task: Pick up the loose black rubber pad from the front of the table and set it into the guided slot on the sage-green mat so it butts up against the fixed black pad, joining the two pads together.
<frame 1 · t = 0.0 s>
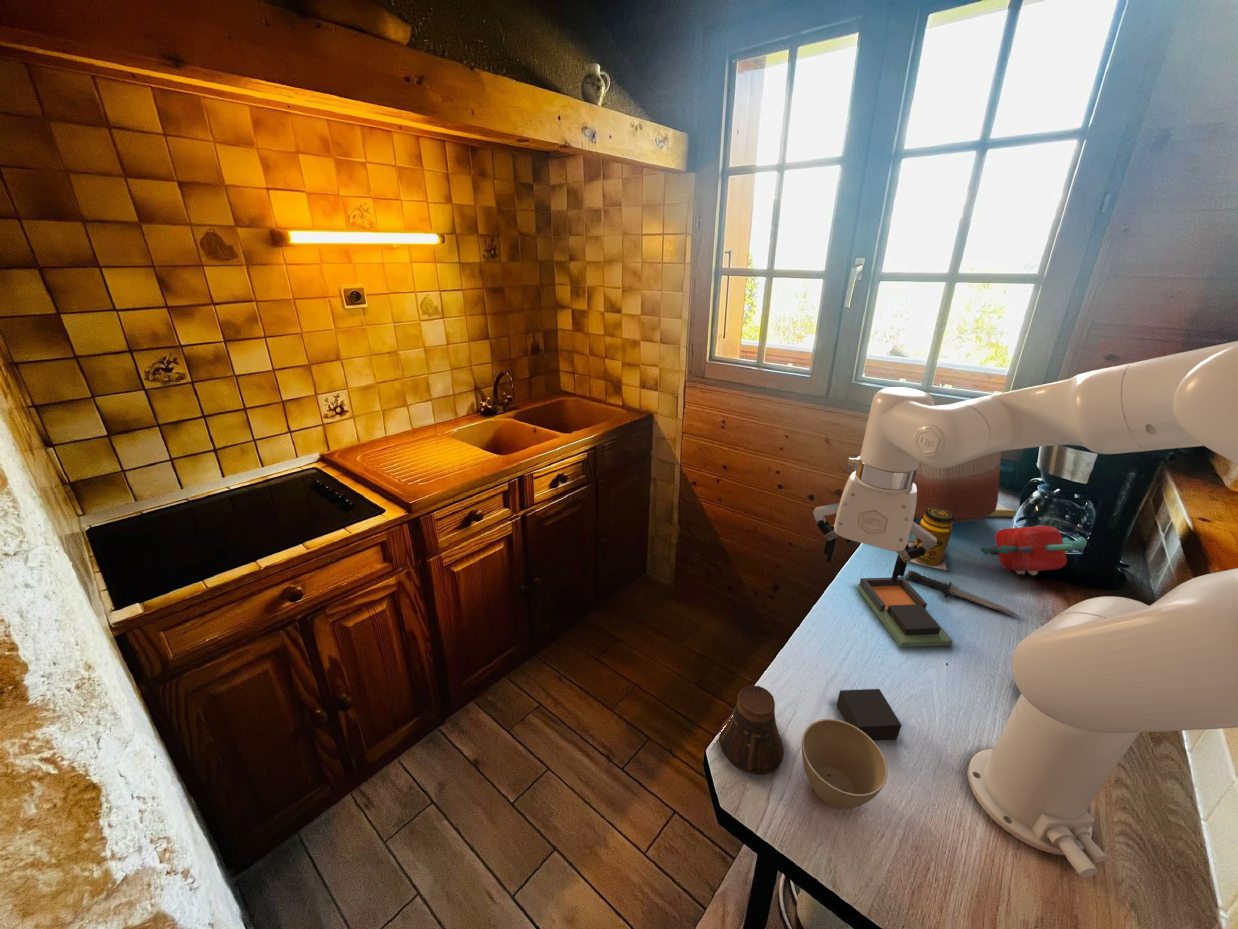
hand: (861, 567, 79), 18 cm above the table, tool pointing down, fingers open, 9 cm apart
dock: (900, 614, 94), on the table
knife: (958, 597, 99), on the table
beige bowl: (833, 790, 65), on the table
pillar candle: (1058, 708, 76), on the table
toy: (1078, 547, 105), point 5 cm above the table
loose pad: (865, 721, 74), on the table
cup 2: (766, 702, 66), point 10 cm above the table
condiment: (926, 557, 111), on the table
sign holder: (975, 513, 126), point 1 cm above the table, touching planter
planter: (934, 507, 127), point 2 cm above the table, touching sign holder
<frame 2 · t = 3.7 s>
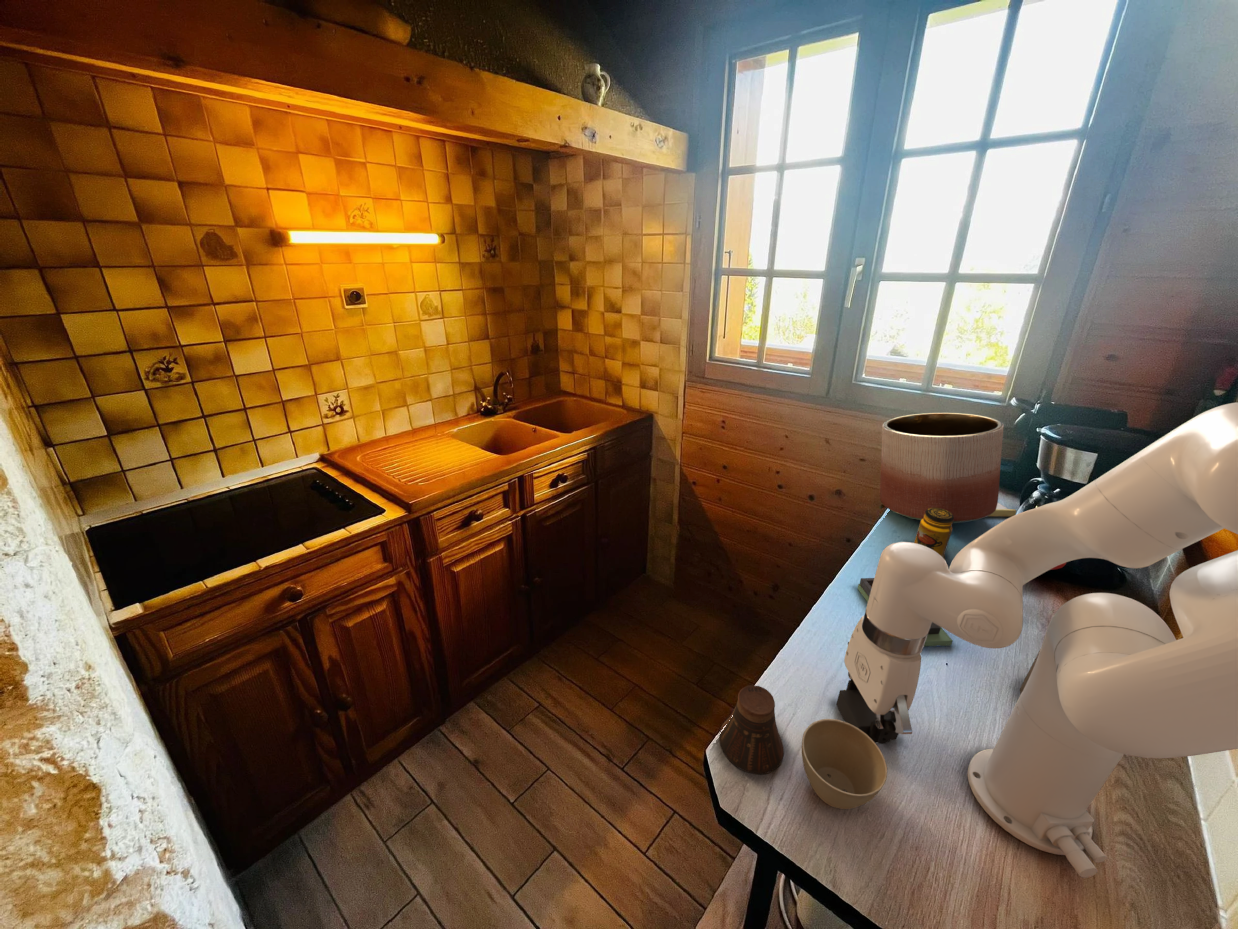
hand: (865, 718, 73), 1 cm above the table, tool pointing down, fingers closed on loose pad, 6 cm apart
loose pad: (865, 721, 74), on the table, touching gripper
planter: (935, 507, 127), point 2 cm above the table, touching sign holder
everything else where it was.
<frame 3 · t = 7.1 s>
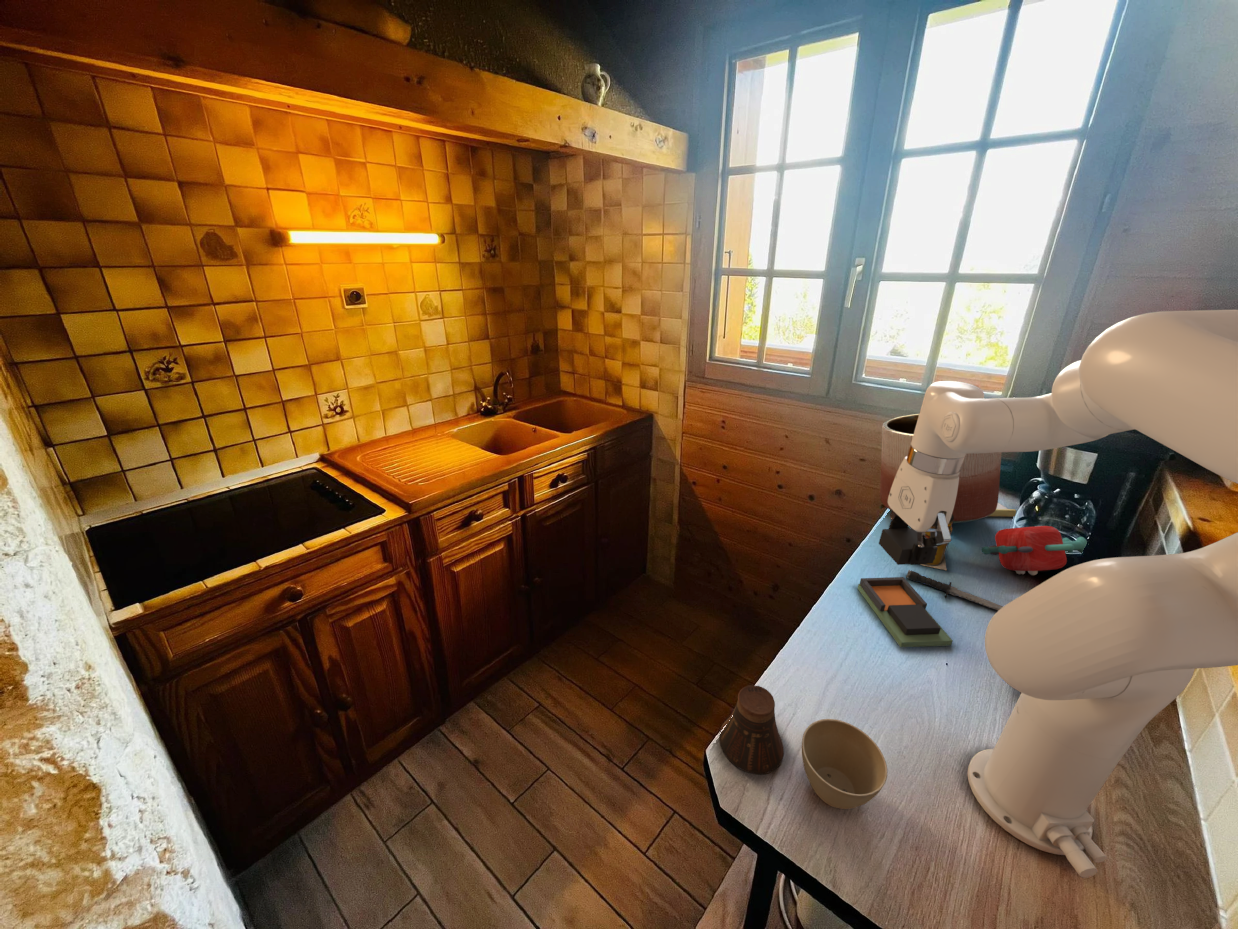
hand: (906, 550, 86), 16 cm above the table, tool pointing down, fingers closed on loose pad, 6 cm apart
loose pad: (904, 553, 86), point 15 cm above the table, touching gripper
everything else where it was.
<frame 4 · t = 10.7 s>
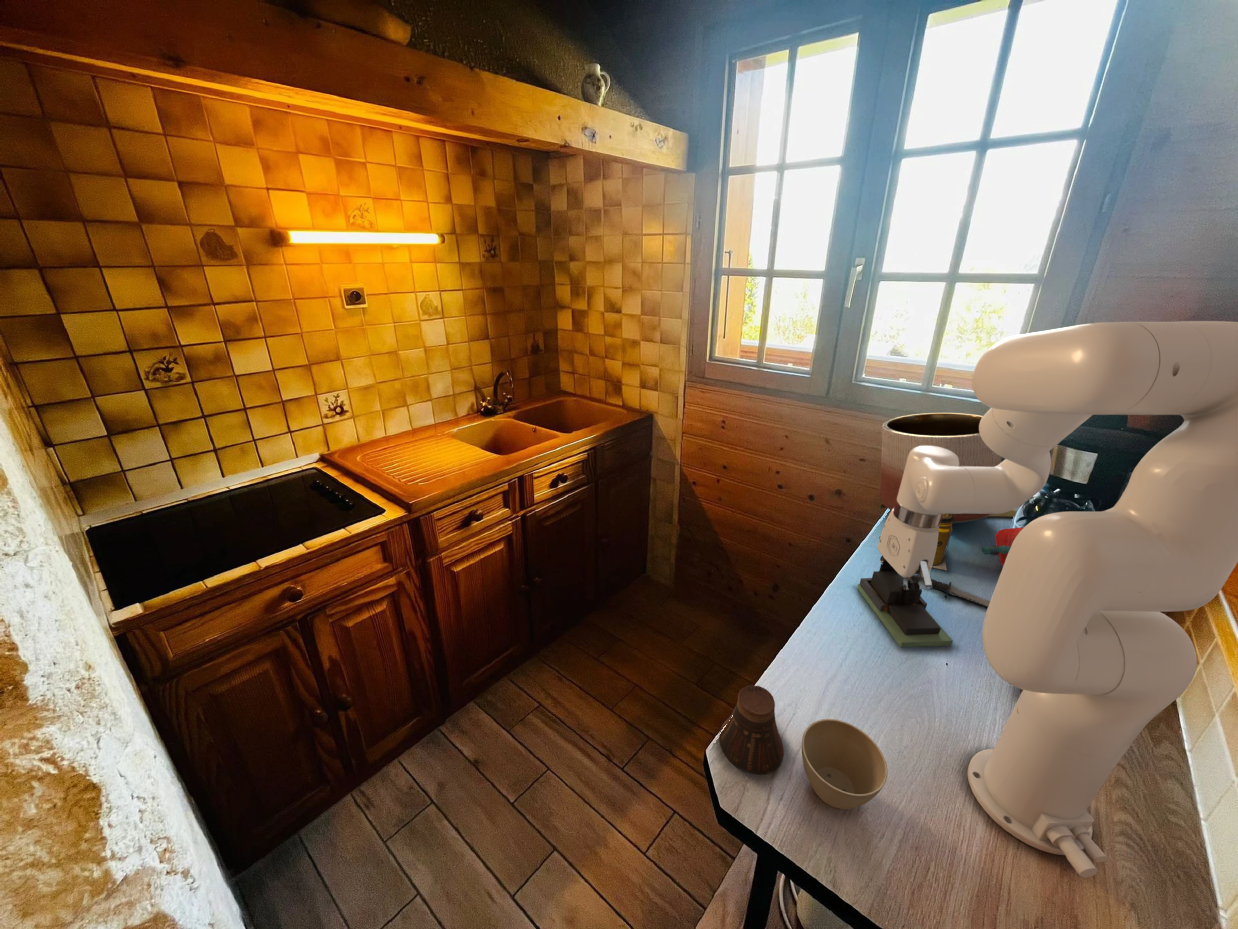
hand: (894, 591, 96), 3 cm above the table, tool pointing down, fingers closed on loose pad, 6 cm apart
loose pad: (893, 593, 96), point 2 cm above the table, touching gripper
everything else where it was.
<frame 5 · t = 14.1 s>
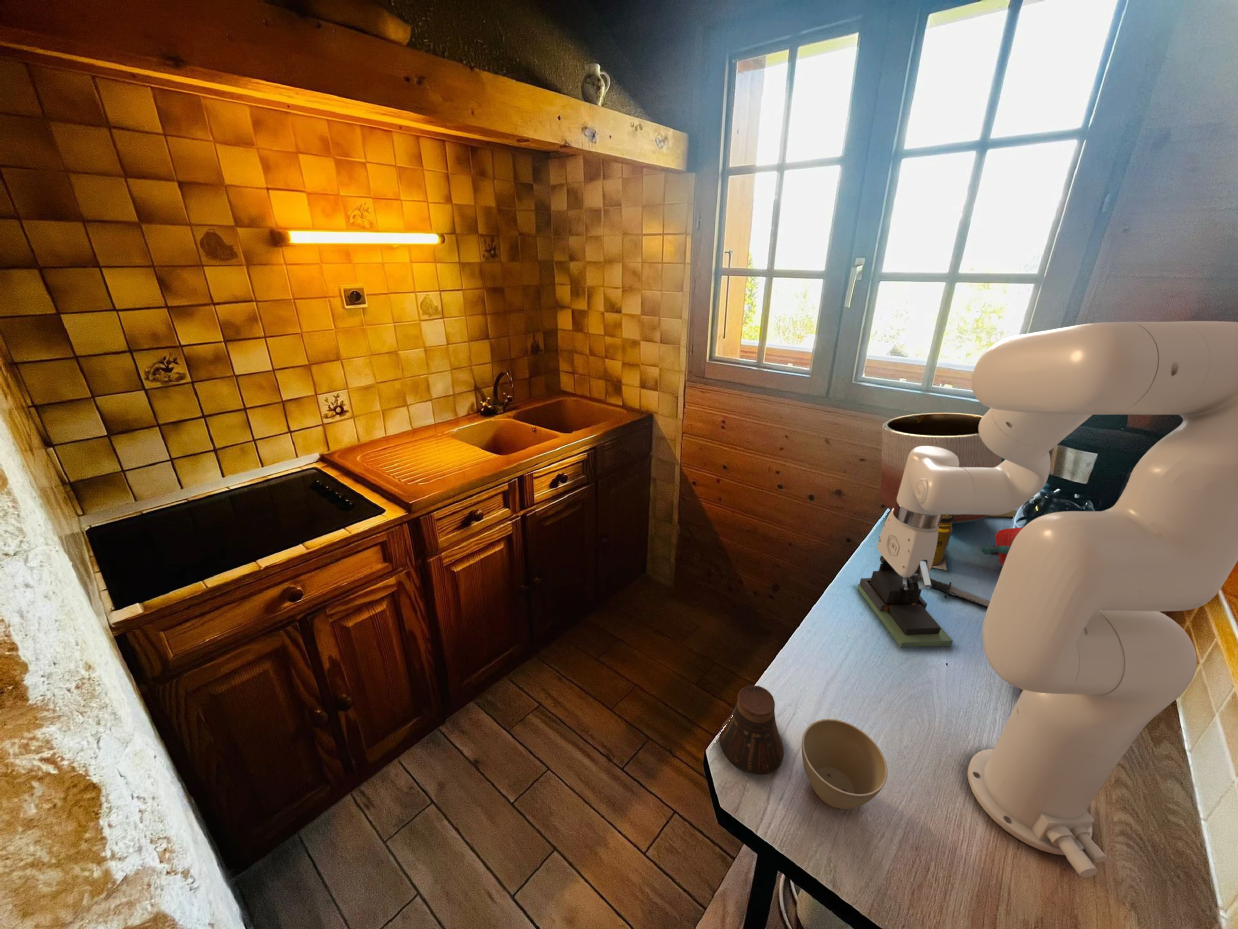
hand: (894, 590, 96), 3 cm above the table, tool pointing down, fingers closed on loose pad, 6 cm apart
loose pad: (892, 593, 96), point 2 cm above the table, touching gripper
everything else where it was.
when the fingers open (4 cm above the table, at t = 17.3 s): loose pad drops 2 cm, resting on dock.
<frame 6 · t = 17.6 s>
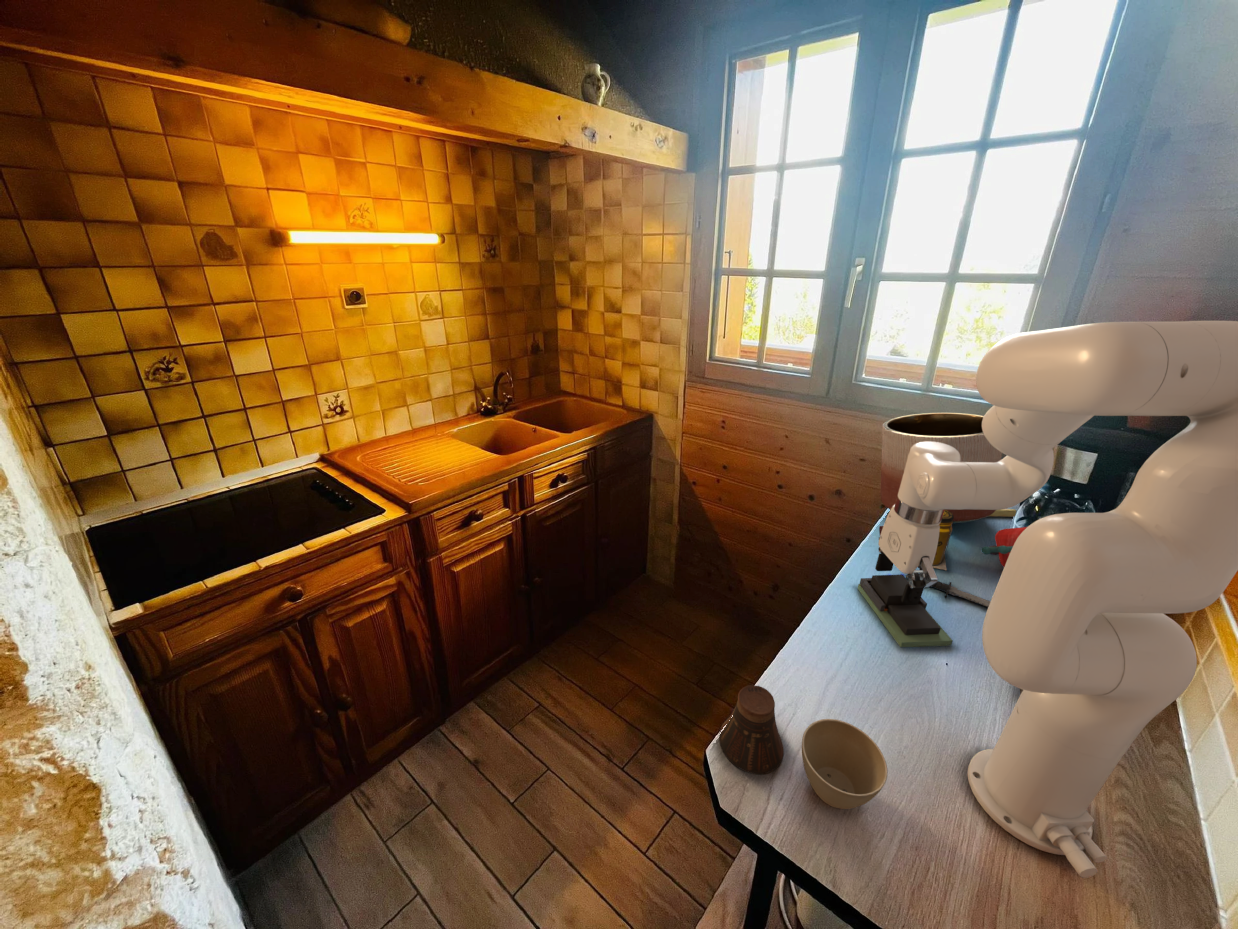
hand: (896, 585, 95), 4 cm above the table, tool pointing down, fingers open, 9 cm apart
loose pad: (892, 597, 97), point 1 cm above the table, touching dock
planter: (935, 507, 127), point 2 cm above the table, touching sign holder
everything else where it was.
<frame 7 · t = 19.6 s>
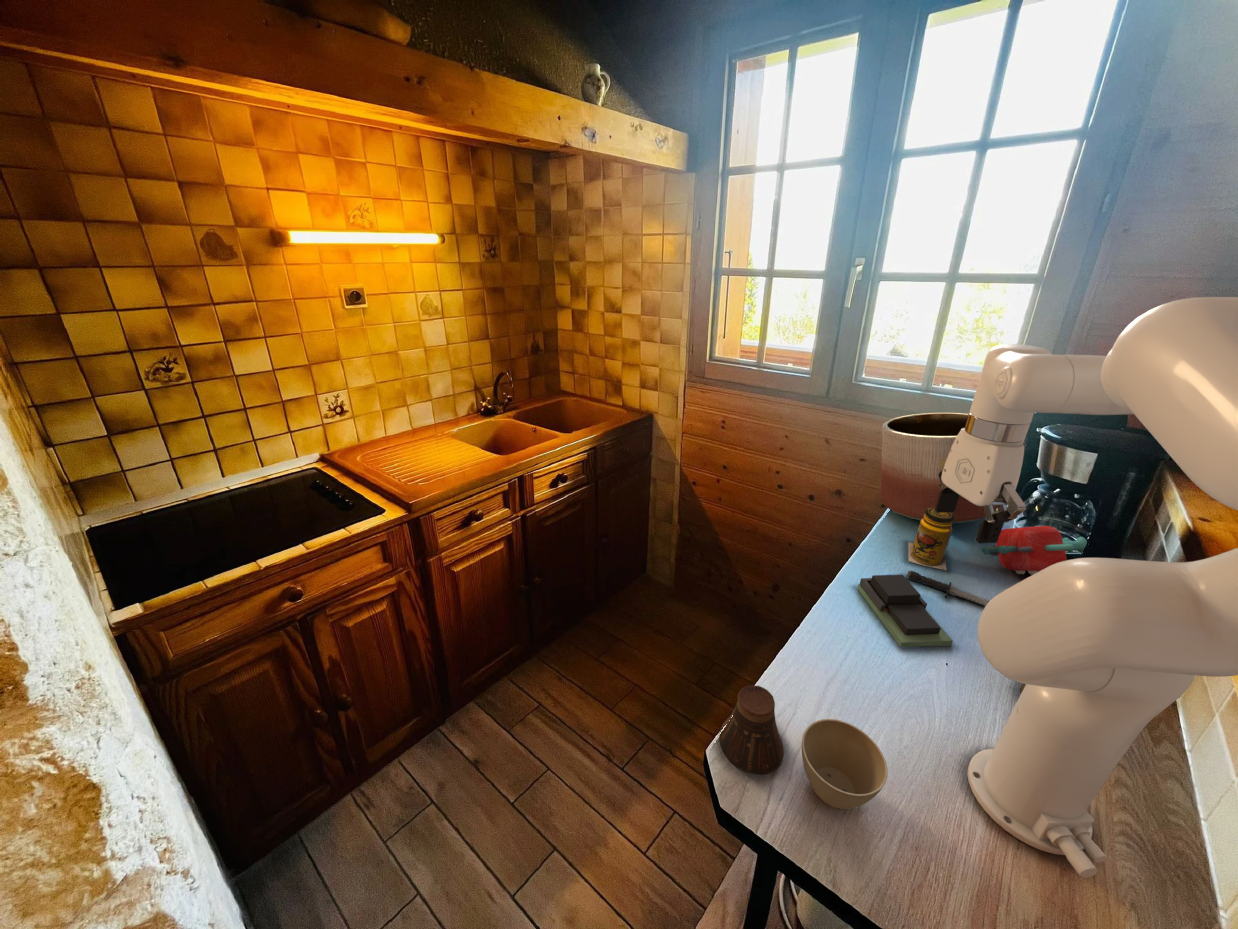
hand: (963, 526, 81), 23 cm above the table, tool pointing down, fingers open, 9 cm apart
sign holder: (975, 513, 126), point 1 cm above the table
planter: (935, 507, 127), point 2 cm above the table
everything else where it was.
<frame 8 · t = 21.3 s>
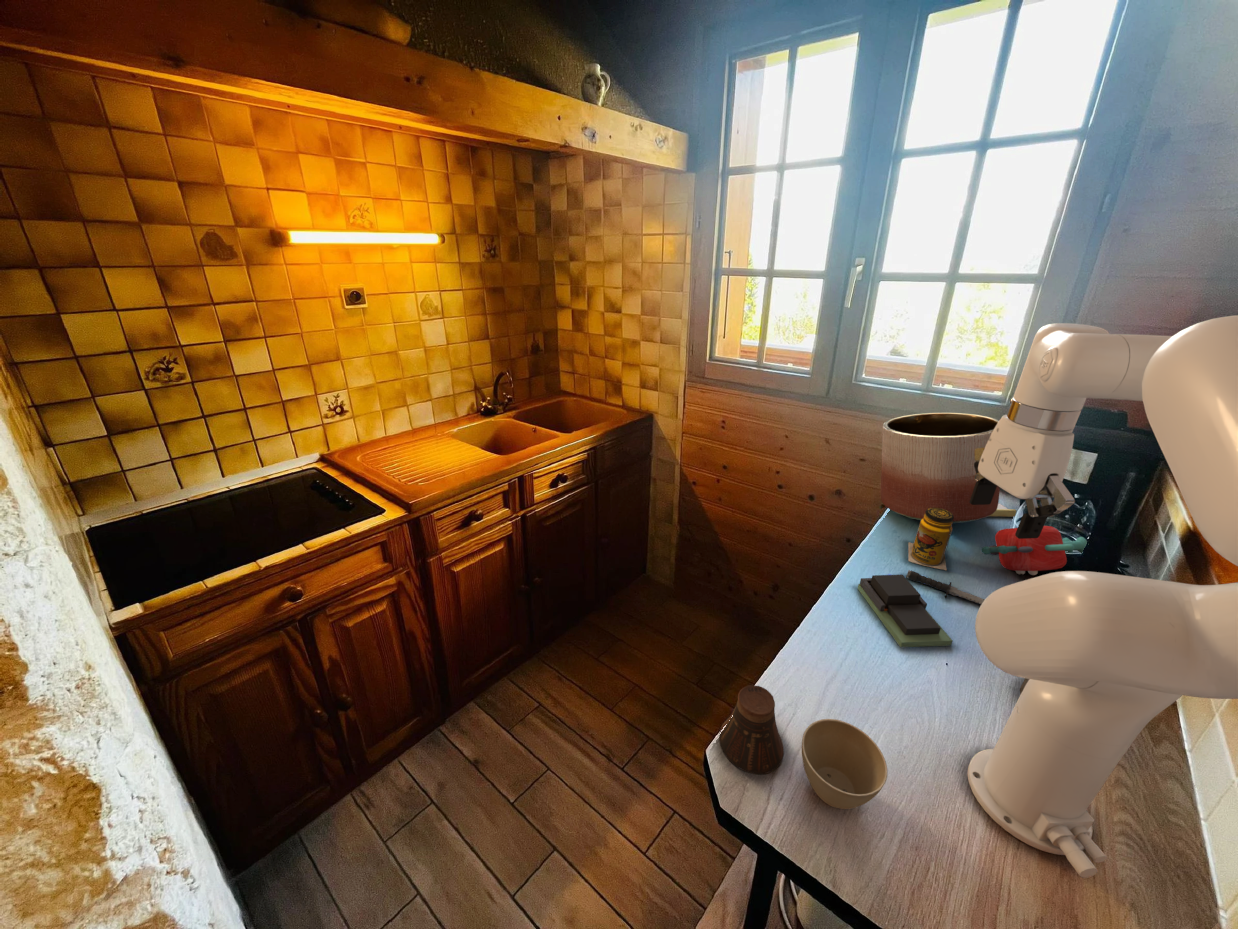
hand: (1001, 519, 76), 26 cm above the table, tool pointing down, fingers open, 9 cm apart
sign holder: (975, 513, 126), point 1 cm above the table, touching planter
planter: (935, 507, 127), point 2 cm above the table, touching sign holder
everything else where it was.
at the end: loose pad 0.1 cm from the target spot on the dock, point 1.3 cm above the dock's base; loose pad tilted 0°; the gripper is holding nothing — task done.
